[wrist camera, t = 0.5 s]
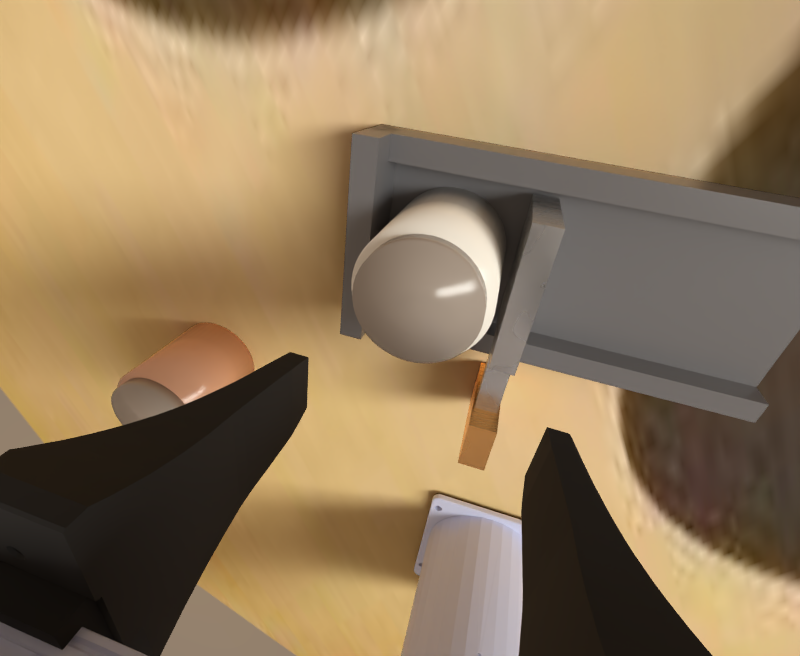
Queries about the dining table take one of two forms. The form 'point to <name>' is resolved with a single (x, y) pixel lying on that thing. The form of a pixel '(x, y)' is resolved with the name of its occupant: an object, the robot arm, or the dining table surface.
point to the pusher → (512, 325)
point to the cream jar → (431, 276)
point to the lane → (613, 263)
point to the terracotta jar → (182, 372)
